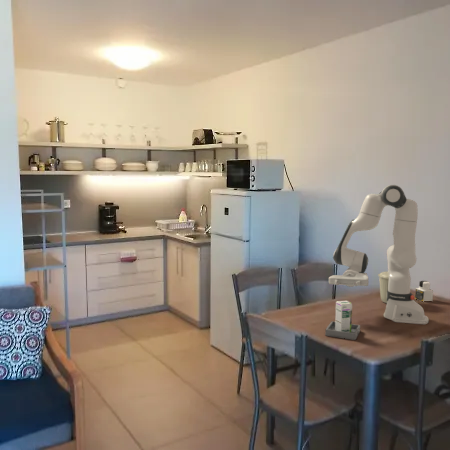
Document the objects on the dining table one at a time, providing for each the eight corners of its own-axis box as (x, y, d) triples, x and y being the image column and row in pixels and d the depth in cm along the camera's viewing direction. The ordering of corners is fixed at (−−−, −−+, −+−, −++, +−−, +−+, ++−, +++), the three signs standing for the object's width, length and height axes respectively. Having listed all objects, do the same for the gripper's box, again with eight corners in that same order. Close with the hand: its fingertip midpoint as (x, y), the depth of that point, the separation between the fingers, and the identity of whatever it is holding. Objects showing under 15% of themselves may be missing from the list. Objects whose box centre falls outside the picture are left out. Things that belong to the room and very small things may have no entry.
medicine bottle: (414, 299, 288) (416, 280, 286) (424, 298, 290) (425, 279, 289) (423, 302, 281) (424, 283, 280) (432, 301, 283) (433, 282, 282)
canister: (383, 297, 292) (384, 264, 290) (412, 302, 281) (414, 268, 279) (372, 302, 279) (373, 268, 276) (402, 308, 267) (404, 272, 265)
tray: (360, 331, 228) (360, 325, 227) (355, 340, 215) (355, 333, 215) (331, 326, 234) (331, 321, 233) (325, 335, 221) (325, 329, 221)
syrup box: (340, 333, 221) (341, 304, 219) (334, 329, 226) (335, 300, 225) (351, 332, 222) (352, 303, 221) (345, 328, 228) (346, 300, 226)
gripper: (331, 271, 252) (325, 276, 240) (370, 273, 244) (366, 278, 232) (331, 282, 253) (325, 288, 241) (370, 284, 245) (366, 291, 232)
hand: (346, 284), depth 236 cm, fingers open, 8 cm apart
